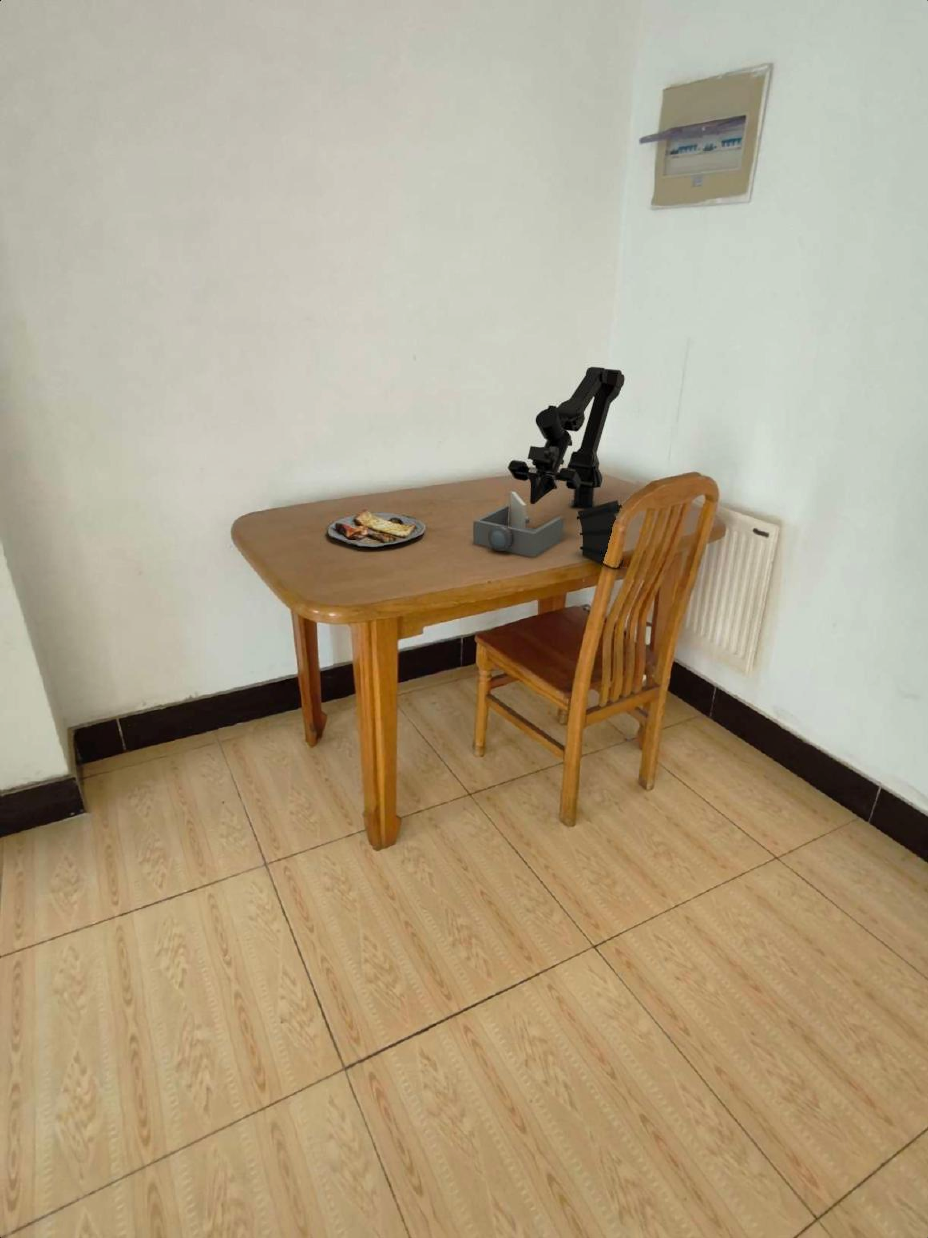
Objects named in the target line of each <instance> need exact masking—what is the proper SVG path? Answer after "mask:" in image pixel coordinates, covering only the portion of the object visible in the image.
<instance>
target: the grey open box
mask: <svg viewBox="0 0 928 1238" xmlns="http://www.w3.org/2000/svg"><path fill="white" fill-rule="evenodd" d="M509 511H510V505H503V506H501V507H499V508H496V509H495V510H492V511H491V512H488V513H486V514H484V515H482V516H481V517H478V518H476V519H474V520H473V522H472V523H473V525H472V527H473V528H472V529H473V530H472V531H473V532H472V534H473V535H472V536H473V538H472V539H473V540H472V543H473V545H477V546H482V547H485V548H490V549H494V550H495V551H498V552H508V553H512V554H517V555H520V556H525V557H527V558H528V557H529V558H533V559H534V558H535V557H537V556H538V555H540V554H541V553H543V552H544V551H546V550H548V549H550V548H551V547H552V546H554V545H556V544H557V543H559V542H560V540H561V541H562V540H564V535H563V530H564V519H565V517H564V516H561V515H559V516H557V517H555V518H553V519H552V520H550V521H548V522H547V523H545V524H543V525H542V526H540V527H538V528H532V527H527V526H525V530H523V529H518V528H513V527H511V526H510V525H509Z"/></svg>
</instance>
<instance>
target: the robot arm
mask: <svg viewBox="0 0 928 1238" xmlns="http://www.w3.org/2000/svg"><path fill="white" fill-rule="evenodd" d="M624 383H625V375H624V374H623V373H622V371H621V369H612V368H611V369H610V368H605V367H599V366H590V367H587V369H586V371H585V375H584V377H583V378H582V380H581V381H580V383H579V384H578V385H577V387H576V389H575V390H574V392H573V393H572V395H571V396H570V398H569V399H567V400H565V401H563V402H561V403H560V404H559V405H558V406H557V405H548V407H547V408H546V409H543V410H541V411H540V412H539V413H538V414H537V415H536V416H535V424H536V426H537V428H538V430H539V431H540V433H541V435H542V437H543V439H545V440H546V442H545V444H544V446H536V445H534V446H533V445H530V447H529V451H528V455H527V459H528V460H531V461H532V462H531V464H532V465H533V466H529V465H528V464H527V462H526V461H524V460H518V459H513V460H511V461H510V462H509V464H508V466H507V469H508V471H509V473H510V474H511V475H512V477H513V478H514V479H515V480H516V481H522V482H526V481H528V480H529V482H530V494H529V495H530V496H529V503H530V504H531V505H536V503H538V502H539V501H540V500H541V499H542V498H543V497H545V496H546V495H547V494H549V493H550V492H552V491H553V490H557V489H558V483H559V482H560V481H561V482H565V486H566V487H567V489H569V490H573V498H572V499H571V508H574V509H587V508H591V507H594V506H595V500H594V496H595V489H597V488H601V486H602V483H603V478H604V477H603V475H602V473H601V470H600V468H599V467H600V460H599V458H598V454H597V452H598V449H599V446H600V441H601V438H602V435H603V432H604V428H605V423H606V420H607V418H608V414H609V410H610V406H611V404H612V402H613V401H615V400H616V399H617V398H618V397H619V396H620V393H621V390H622V388H623V387H624ZM591 402H592V405H591V408H590V412H589V416H588V418H587V422H586V427H585V429H584V432H583V433H584V434H583V437H582V441H581V443H580V447H579V449H577V451H572V452H571V454H570V459H569V462H568V465H567V467H562V468H560V467H561V466H564V464H565V460H564V458H565V455H566V454H567V453H566V452H567V450H568V447H572V446H573V440H572V435H570V432H575V433H576V432H579V431H580V430H581V428H582V427H583V425H584V423H585V419H586V416H585V411H586V409H587V408H588V406H589V405H590V403H591Z"/></svg>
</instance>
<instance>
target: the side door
mask: <svg viewBox="0 0 928 1238" xmlns="http://www.w3.org/2000/svg"><path fill="white" fill-rule="evenodd" d="M526 514H527V504H526V502H524V501H523V499H522V498H521V497H520V496H519V495H518V494H517V492H516V491H515V490H510V491H509V517H508V524H509V525H510V526H511V527H513V528H518V529H523V530H525V527H526V524H530V523H531V522H530V519H531V518H530V516H529V515H526Z"/></svg>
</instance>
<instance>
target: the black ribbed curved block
mask: <svg viewBox="0 0 928 1238" xmlns="http://www.w3.org/2000/svg"><path fill="white" fill-rule="evenodd" d="M622 508H623V506H622V504H619V500H618V499H616V500H613V501H609V502H605V503H603V504H597V505H594V507H591V508H583V509H580V510H577V513H578V515H577V516H576V520H577V521H578V520H579V524H580V526H581V532H579V536H582V537H581V538H582V545H581V546H580V547H579V550H581V555H582V556H583V557H585V556H586V558H587V557H588V558H587V559H591V560H592V561H595V562H597V563H600V564H602V565H604V564H603V561H604V557H605V554H606V552H607V549H608V543H609V540H610V536H611V533H612V527H613V524H614V522H615V520H616V516H617V515H618V513H619V511H620V512H621V509H622ZM623 566H624V559H623V560H622V561H621V563H620V564H619V567H618V568H621V567H623Z"/></svg>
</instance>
